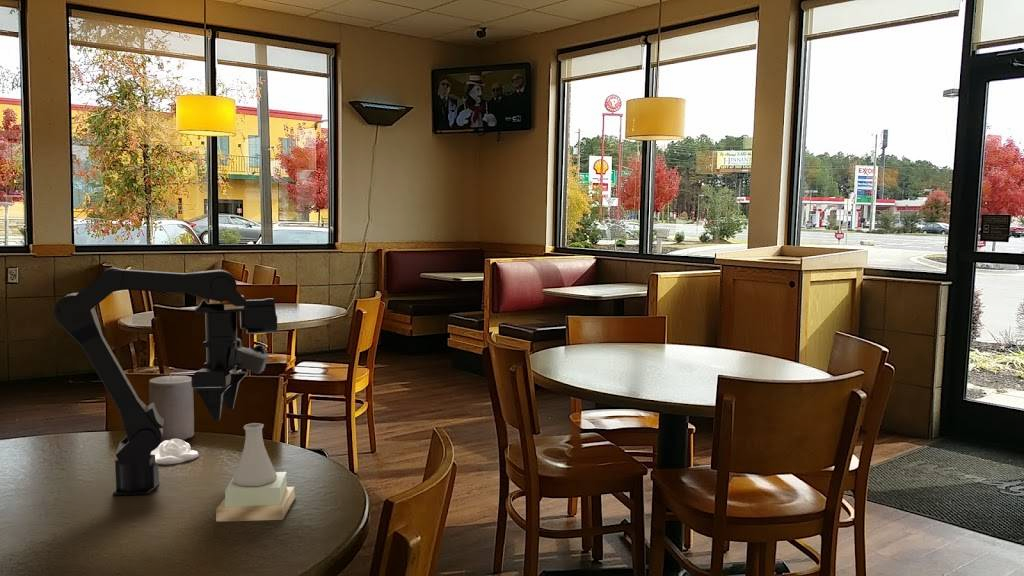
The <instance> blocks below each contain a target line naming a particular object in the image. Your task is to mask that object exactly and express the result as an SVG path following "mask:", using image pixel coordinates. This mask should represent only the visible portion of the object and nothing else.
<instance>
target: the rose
mask: <svg viewBox="0 0 1024 576" xmlns="http://www.w3.org/2000/svg"><path fill="white" fill-rule="evenodd" d="M199 454H200V453H199V452H198V451H197V450H193V449H191V445H190V443H188V442H186V441H185V440H181V439H171V440H170V441H168V440H165V441H163V442H161V443H160V445H159V446H158V447H157V448H156V449H155V450H153V451H151V455H155V463H158V465H176V464H181V463H184V462H188V461H192V460H194V459H197V458H198V457H199Z"/></svg>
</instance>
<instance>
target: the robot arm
mask: <svg viewBox="0 0 1024 576" xmlns="http://www.w3.org/2000/svg"><path fill="white" fill-rule="evenodd" d="M237 287H238V285H237V281H236V279H235V277H234V276H233V275H232V273H230V272H229V271H227V270H225V269H213V270H211V269H210V270H201V271H194V272H174V271H173V272H170V271H169V272H168V271H155V270H154V271H153V270H141V269H140V270H139V269H127V268H126V269H123V268H119V267H115V266H114V267H110V268H107V269H105V270H104V271H103V272H102V273H101V275H100V276H99V277H97V278H96V279H94V280H93V281H92V282H91V283H90V284H89V285H87V286H86V287H84V288H83V289H82V290H81V291H79V292H72V293H68V294H67V295H65V296H63V297H62V298H60V299H59V300H58V301H57V302H56V304H55V306H54V309H53V315H54V318H55V319H56V321H57V323H58V324H60V326H62V328H63V329H64V330H65V332H66V333H67V334H68V335H69V336H71V338H73V339H74V340H75V341H76V343H78V344H79V346H81V348H82V349H83V351H84V353H85V355H86V357H87V358H88V361H89V362H90V364H91V365H92V367H93V369H94V370H95V372H96V374H97V375H98V377H99V379H100V381H101V383H102V384H103V386H104V387H105V389H106V390H107V393H108V394H109V396H110V398H111V400H112V401H113V402H114V405H115V407H116V409H117V410H118V411H119V415H120V419H121V422H122V426H123V429H124V433H125V437H124V438H123V439H122V440H121V441H120V442H119V444H118V448H117V451H116V453H115V454H116V455H115V457H116V459H115V460H114V466H115V468H114V470H115V472H114V473H115V489H114V490H113V491H112V492H111V494H112V495H113V496H121V495H122V496H123V495H130V496H131V495H148V494H150V493H151V492H152V491H153V490H154V489H155V488H156V487H158V486H159V485H160V475H159V464H158V463H155V455H151V451H153V450H155V449H156V448H157V447H158V446H159V445H160V443H162V442H161V440H162V434H163V422H164V419H163V418H162V417H161V416H160V415H159V414H158V412H157V410H156V407H155V404H154V403H151V404H149V405H146V404H145V402H144V401H142V400H141V398H140V397H139V396H138V394H137V391H136V390H135V389H134V387H133V385H132V384H131V382H130V379H128V377H127V375H126V373H125V371H124V370H123V368H122V366H121V365H120V363H119V361H118V358H116V356H115V354H114V353H113V350H112V349H111V347H110V345H109V344H108V341H107V340H106V337H104V335H103V331H102V328H101V323H100V319H99V316H98V313H97V310H96V306H97V305H99V304H100V303H102V301H104V300H105V299H106V298H108V297H109V296H110V295H111V294H113V293H114V292H116V291H117V290H122V291H123V290H124V291H125V290H126V291H139V292H141V291H142V292H159V293H160V292H161V293H176V294H177V293H178V294H186V295H189V296H190V295H191V296H195V297H198V298H202V300H201V301H200V304H198V306H197V305H196V307H194V312H195V313H196V314H204V315H205V316H204V320H205V321H204V322H205V323H204V325H205V341H203V342H202V348H205V350H206V351H205V354H206V355H205V356H206V357H205V359H206V362H204V363H203V367H202V368H200V369H198V370H197V371H195V373H193V375H192V376H190V377H191V383H192V387H193V388H194V391H196V392H197V394H198V396H199V397H200V398H201V400H202V401H203V404H204V405H205V407H206V410H207V411H208V413H209V414H210V417H211V419H212V421H214V422H215V421H216V422H218V421H220V420H221V417H222V416H221V415H222V409H223V402H224V404H225V407H226V409H227V410H233V409H234V408H235V403H236V399H237V395H238V390H239V386H240V383H241V381H242V380H243V379H244V378H245V377H246V376H247V375H248V374H249V371H250V372H251V373H253V374H257V375H260V374H261V373H262V372H264V371H265V368H266V365H267V363H268V361H269V354H268V353H267V348H266V346H264V345H261V344H257V345H255V346H254V348H251V347H244V346H243V341H242V339H241V338H240V337H239V338H238V317H237V312H239V327H240V329H241V330H243V329H244V331H246V334H247V335H250V334H253V335H255V334H270V333H271V334H272V333H274V334H275V333H276V334H277V333H278V315H277V311H276V300H275V299H274V297H271V298H270V297H267V298H263V299H246V298H245V296H244V295H243V294H241V293H240V292H239V291H238V290H237ZM205 299H206V300H211V301H217V302H218V303H217V302H215V303H209V302H208V301H206V300H205ZM225 301H226V302H228V303H230V304H232V305H233V306H234V307H225V303H224V302H225ZM242 370H243V371H242Z"/></svg>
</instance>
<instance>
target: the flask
mask: <svg viewBox="0 0 1024 576" xmlns="http://www.w3.org/2000/svg"><path fill="white" fill-rule="evenodd" d="M264 426H265V424H264V423H262V422H261V423H259V422H258V423H257V422H251V423H247V424H244V426H243V430H244V431H245V439H244V445H243V450H242V452H241V456H240V459H239V462H238V465H237V467H236V470H235V473H234V474H233V477H234V478H233V477H232V478H233V481H232V483H234V484H237V485H241V486H260V485H264V484H267V483H270V482H273V481H274V480H275V479H276V477H277V475H276V472H277V471H275V470H276V469H275V468H274V466H273V464H272V460H271V459H270V457H269V454H268V451H267V448H266V446H265V443H264V439H263V428H264Z"/></svg>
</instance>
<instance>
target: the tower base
mask: <svg viewBox="0 0 1024 576" xmlns="http://www.w3.org/2000/svg"><path fill="white" fill-rule="evenodd" d="M295 492H296V489H295V486H287V489H286V491H285V494H284V496H283V499H282V501H281V504H280V505H264V506H243V507H226V506H225V498H223V500H222V501H221V502H220V503H219V505H218V506H217V507H216V509H215V517H216V518H215V520H216V521H215V522H245V521H249V522H250V521H252V522H253V521H282V520H284V519H285V516H286V515H287V513H288V511H289V510H290V507H291V505H292V503H294V500H295V499H296V493H295Z"/></svg>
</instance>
